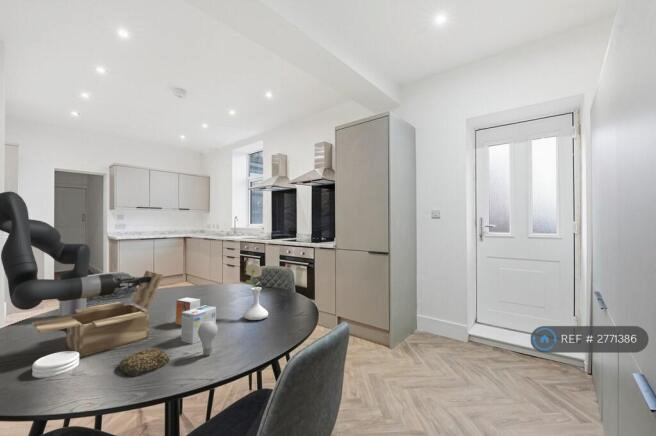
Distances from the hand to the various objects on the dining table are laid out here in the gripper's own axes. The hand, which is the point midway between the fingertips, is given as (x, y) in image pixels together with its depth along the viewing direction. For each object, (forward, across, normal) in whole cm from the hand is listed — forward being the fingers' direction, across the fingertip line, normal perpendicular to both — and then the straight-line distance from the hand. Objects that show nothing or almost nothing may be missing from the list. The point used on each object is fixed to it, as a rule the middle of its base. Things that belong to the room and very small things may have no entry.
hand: (149, 279), depth 115 cm
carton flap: (-4, 0, +10) cm, 11 cm away
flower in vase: (+37, -20, +21) cm, 47 cm away
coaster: (-29, -12, +21) cm, 38 cm away
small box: (+14, -4, +21) cm, 25 cm away
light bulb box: (+9, -22, +21) cm, 32 cm away
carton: (-18, 0, +21) cm, 27 cm away
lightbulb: (+3, -38, +21) cm, 44 cm away
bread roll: (-12, -29, +21) cm, 38 cm away
